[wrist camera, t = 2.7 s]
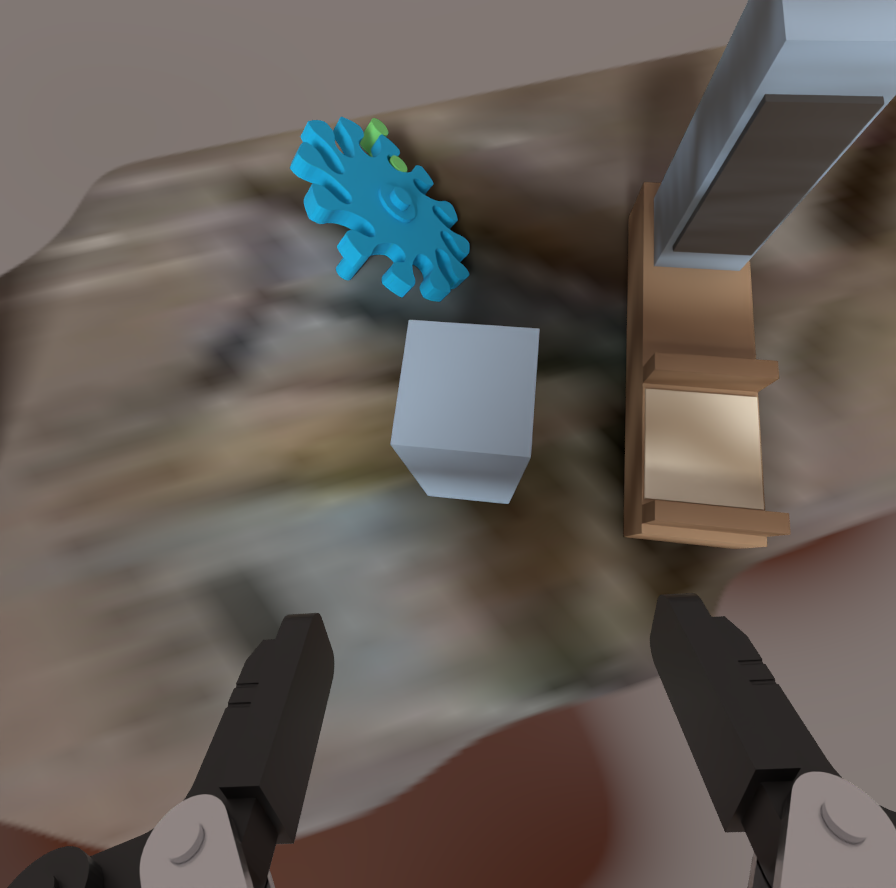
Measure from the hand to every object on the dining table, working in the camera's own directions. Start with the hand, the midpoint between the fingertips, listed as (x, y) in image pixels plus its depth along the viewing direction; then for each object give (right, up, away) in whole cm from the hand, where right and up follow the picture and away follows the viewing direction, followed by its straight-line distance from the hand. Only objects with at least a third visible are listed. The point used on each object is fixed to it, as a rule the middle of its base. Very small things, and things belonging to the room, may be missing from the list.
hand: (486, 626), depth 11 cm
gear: (-4, +15, +16) cm, 22 cm away
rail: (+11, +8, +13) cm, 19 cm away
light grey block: (0, +4, +12) cm, 13 cm away
